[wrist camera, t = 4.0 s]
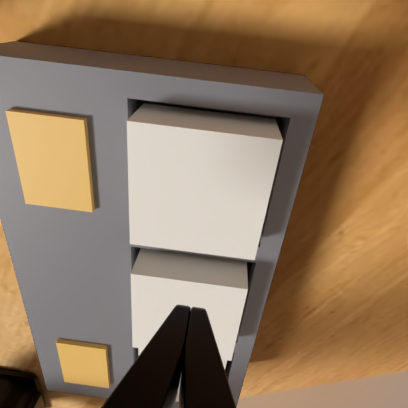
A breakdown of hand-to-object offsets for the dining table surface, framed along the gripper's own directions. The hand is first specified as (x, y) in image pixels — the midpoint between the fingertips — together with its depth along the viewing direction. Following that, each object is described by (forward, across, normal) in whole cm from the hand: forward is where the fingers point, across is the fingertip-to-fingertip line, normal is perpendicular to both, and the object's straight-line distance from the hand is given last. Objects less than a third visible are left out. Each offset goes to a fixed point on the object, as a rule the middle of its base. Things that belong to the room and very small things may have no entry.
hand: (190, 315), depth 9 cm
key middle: (+7, 0, +7) cm, 10 cm away
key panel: (+10, +3, +7) cm, 13 cm away
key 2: (+8, 0, -1) cm, 8 cm away
